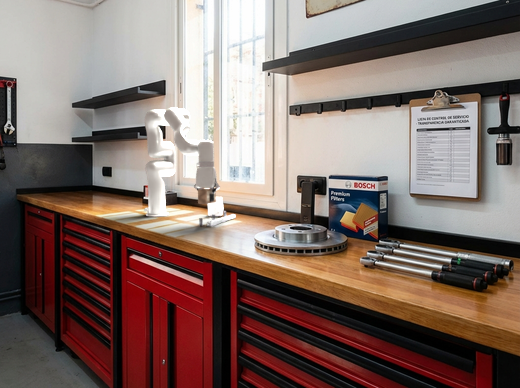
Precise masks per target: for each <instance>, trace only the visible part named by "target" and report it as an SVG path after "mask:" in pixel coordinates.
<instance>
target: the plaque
mask: <svg viewBox="0 0 520 388" xmlns="http://www.w3.org/2000/svg"><path fill="white" fill-rule="evenodd" d="M216 193H217V191H216V192H215V193H214V201H213V202H216V197H217V195H216ZM197 202H198V203H197V204H199V205H208V204H209V203H213V202H210V189H209V188H204V189H199V190H198V191H197Z"/></svg>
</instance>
